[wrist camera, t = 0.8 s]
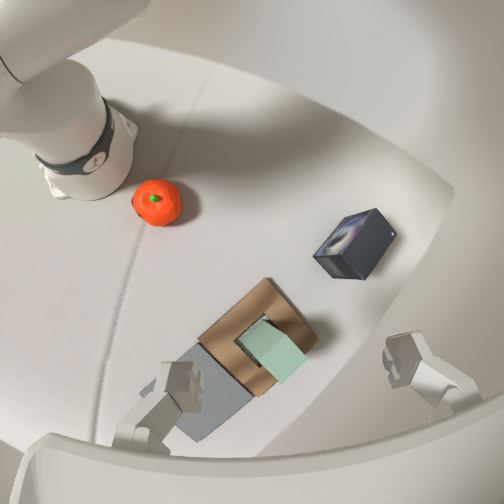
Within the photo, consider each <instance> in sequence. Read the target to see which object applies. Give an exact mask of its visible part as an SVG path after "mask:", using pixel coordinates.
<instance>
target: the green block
mask: <svg viewBox="0 0 504 504" xmlns="http://www.w3.org/2000/svg"><path fill="white" fill-rule="evenodd" d="M240 340H241V341H242V342H243V344H244V345H245V346H246V347H247V348H248V350H249V351H250V352H251V353H252V354H253V355H254V356H255V358H256V359H257V360H258V361H259V362H260V363H261V364H262V365H263V366H264V367H265V368H266V369H267V370H268V371H269V372H270V373H271V374H272V375H273V376H274V377H275V378H276V379H277V380H278V381H279V382H280V383H281V384H282V383H283V382H284V381H286V380H287V379H288V378H289V377H290V376H291V375H292V374H293V373H294V372H295V371H296V370H297V369H298V368H299V367H300V366H301V365H302V364H303V363H304V362H305V361H306V360H307V359H308V358H307V357H306V356H305V355H304V354H303V353H302V352H301V350H300V349H299V348H298V347H297V346H296V345H295V344H294V343H293V342H292V341H291V340H290V338H289V337H288V336H287V335H286V334H284V333H282V332H281V331H279V330H278V329H276V328H274V327H273V326H271V325H270V324H268V323H266V322H265V321H263V320H260V321H259V322H258V323H257V324H256V325H255V326H254V327H253V328H252V329H251V330H250V331H249V332H247V333H246V334H245V335H244V336H243V337H242V338H241V339H240Z"/></svg>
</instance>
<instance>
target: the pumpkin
mask: <svg viewBox="0 0 504 504" xmlns="http://www.w3.org/2000/svg"><path fill="white" fill-rule="evenodd" d="M131 202H132V205H133V208H134V209H135V211H136V212H137V214H138V215H139V217H141V218H142V219H144V220H145V221H146V222H148V223H149V224H151V225H153V226H164V225H166V224H168V223H169V222H171V221H173V220H174V219H176V218H177V217H178V216H179V213H180V211H181V200H180V196H179V192H178V190H177V188H176V187H175V186H174V185H173V184H171V183H170V182H168V181H165V180H163V179H151V180H147V181H145V182H144V183H142V184H141V185H140V186H139V187H138V188H137V190H136V192H135V193H134V195H133V197H132V201H131Z"/></svg>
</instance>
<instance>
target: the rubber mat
mask: <svg viewBox="0 0 504 504" xmlns="http://www.w3.org/2000/svg"><path fill="white" fill-rule="evenodd" d="M192 361H196V363H197V364H198V370H199V371H200V372H201V373H202V375H203V379H204V392H203V393H202V394H201V395H200V397H201V398H202V408H201V413H183V415H182V416H181V417H180V419H179V420H178V421H177V422H176V424H175V426H176V427H178V428H179V429H180V430H181V431H183V432H184V433H185V434H186V435H188V436H189V437H190V438H192V439H193V440H194V441H196V442H198V441H200V440H201V439H202V438H204V437H205V436H206V435H208V434H209V433H210V432H211V431H213V430H214V429H215V428H216V427H218V426H219V425H220V424H222V423H223V422H224V421H225V420H226V419H228V418H229V417H230V416H231V415H233V414H234V413H235V412H236V411H237V410H239V409H240V408H241V407H242V406H243V405H245V404H246V403H247V402H248V401H249V400H250V399H252V398H253V395H252V394H251V393H249V392H248V391H247V390H246V389H245V388H244V387H243V386H242V385H241V384H240V383H239V382H238V381H236V380H235V379H234V378H233V377H232V376H231V375H230V374H229V373H228V372H227V371H226V370H225V369H224V368H223V367H222V366H221V365H220V364H219V363H218V362H217V361H216V360H215V359H214V358H213V357H212V356H211V355H210V354H209V353H208V352H207V351H206V350H205V349H204V348H203V347H202V346H201V345H200V344H199V343H198V342H197V343H196V344H195V345H194V346H193V347H192V348H191V349H189V350H188V351H187V352H186V353H185V354H184V355H183V356H181V357H180V358H179V359H178V360H177V361H176V362H192ZM156 379H157V378H156ZM156 379H155V380H154V381H152V382H151V383H150V384H149V385H148V386H147V387H145V388H144V389H143V390H142V391H141V392H140V393H139V394H140V395H141V396H142V397H143V398H145V397H146V396H147V395H148V394H149V393H150V392H153V391H154V387H155V383H156Z"/></svg>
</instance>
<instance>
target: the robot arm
mask: <svg viewBox="0 0 504 504" xmlns="http://www.w3.org/2000/svg"><path fill="white" fill-rule="evenodd" d="M150 2H151V0H0V138H7V139H12V140H15V141H18V142H20V143H21V144H23V145H24V146H26V147H27V148H29V149H30V150H31V151H32V152H33V155H34V156H35V158H36V159H37V160H39V161H40V162H41V164H40V165H39V167H40V169H41V171H42V172H43V171H44V172H45V175H46V176H45V177H46V179H47V181H48V184H49V187H50V190H51V192H52V195H53V196H54V197H55V198H56V199H64V198H69V197H72V198H76V199H79V200H85V201H91V200H97V199H100V198H103V197H105V196H107V195H109V194H111V193H112V192H113V191H115V190H116V189H117V188H118V187H119V186H120V185H121V184H122V183H123V181H124V180H125V179H126V177H127V175H128V173H129V171H130V169H131V166H132V161H133V144H134V141H135V139H136V137H137V134H138V128H137V126H136V125H135V124H134V123H133V122H132V121H130V120H129V119H128V118H126V117H125V116H124V115H122V114H121V113H120V112H118V111H117V110H115V109H114V108H113V107H111V106H110V105H109V104H108V103H107V102H106V100H105V99H104V98H103V97H102V96H101V94H100V92H99V89H98V86H97V84H96V81H95V79H94V76H93V74H92V73H91V71H90V70H89V69H88V68H87V67H85V66H84V65H82V64H81V63H79V62H77V61H74V60H71V59H66V58H68V57H70V56H72V55H74V54H76V53H78V52H80V51H82V50H84V49H86V48H88V47H90V46H92V45H94V44H96V43H98V42H99V41H101V40H102V39H104V38H106V37H108V36H109V35H111V34H112V33H114V32H116V31H118V30H120V29H121V28H123V27H125V26H126V25H128V24H130V23H131V22H133V21H135V20H137V19H139V18H140V17H141V16H142V15H143V13H144V12H145V11H146V9H147V7H148V6H149V4H150ZM128 126H129V127H128ZM55 187H56V188H55ZM386 345H387V347H386V348H385V349H384V350H383V364H384V367H385V369H386V370H387V371H389V372H390V373H389V376H388V378H389V381H390V384H391V387H392V389H394V388H398V387H403V386H407V385H410V387H411V388H412V389H413V390H415V391H416V392H417V393H418V394H419V395H420V396H422V397H423V398H424V399H425V400H426V401H427V402H428V403H430V404H431V405H432V406H433V407H434V408H435V409H434V411H433V412H432V413H431V415H430V416H429V418H428V421H429V424H426V425H423V426H420V427H417V428H414V429H411V430H408V431H404V432H401V433H398V434H394V435H391V436H387V437H384V438H380V439H376V440H372V441H368V442H363V443H359V444H355V445H349V446H344V447H339V448H334V449H329V450H322V451H315V452H308V453H301V454H291V455H282V456H268V457H250V458H201V457H183V456H171V455H170V452H171V451H170V450H169V448H168V447H166V446H165V445H164V444H163V443H162V441H163V439H164V438H165V437H166V435H167V434H168V433H169V432H170V430H171V429H172V428H173V426H174V425H175V424H176V422H177V421H178V420H179V419H180V417H181V416H182V415H183V413H201V408H202V398H201V397H200V395H201V394H202V393H203V392H204V379H203V375H202V373H201V372H200V371H199V370H198V364H197V363H196V361H192V362H173V361H172V362H162V363H161V364H160V367H159V371H158V375H157V379H156V383H155V387H154V391H153V392H150V393H149V394H148V395H147V396H146V397H145V398H144V399H142V400H141V401H140V402H139V403H138V404H137V405H136V406H135V407H134V408H133V409H132V410H131V411H130V412H129V413H128V414H127V415H126V416H125V417H124V418H123V419H122V420H121V421H120V422H119V423H118V425H117V428H116V432H115V436H114V440H113V444H112V447H108V446H103V445H99V444H94V443H90V442H86V441H82V440H78V439H74V438H70V437H67V436H63V435H60V434H57V433H48V434H46V435H44V436H43V437H41V438H40V439H39V440H37V441H36V442H35V443H34V444H32V445H31V446H30V447H29V448H28V449H27V451H26V453H25V455H24V457H23V459H22V461H21V464H20V467H19V470H18V472H17V475H16V479H15V482H14V486H13V490H12V493H11V497H10V502H9V504H504V390H503V391H501V392H499V393H497V394H495V395H493V396H492V397H489V398H487V399H485V400H483V399H482V397H481V395H480V393H479V391H478V388H477V386H476V384H475V382H474V380H473V379H472V378H470V377H469V376H467V375H466V374H464V373H462V372H461V371H459V370H458V369H456V368H455V367H453V366H451V365H450V364H448V363H447V362H445V361H443V360H442V359H440V358H439V357H437V356H433V354H432V352H431V351H430V349H429V347H428V345H427V343H426V341H425V339H424V337H423V335H422V334H421V332H420V331H419V330H416V331H412V332H407V333H403V334H399V335H394V336H390V337H388V338H387V339H386Z"/></svg>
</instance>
